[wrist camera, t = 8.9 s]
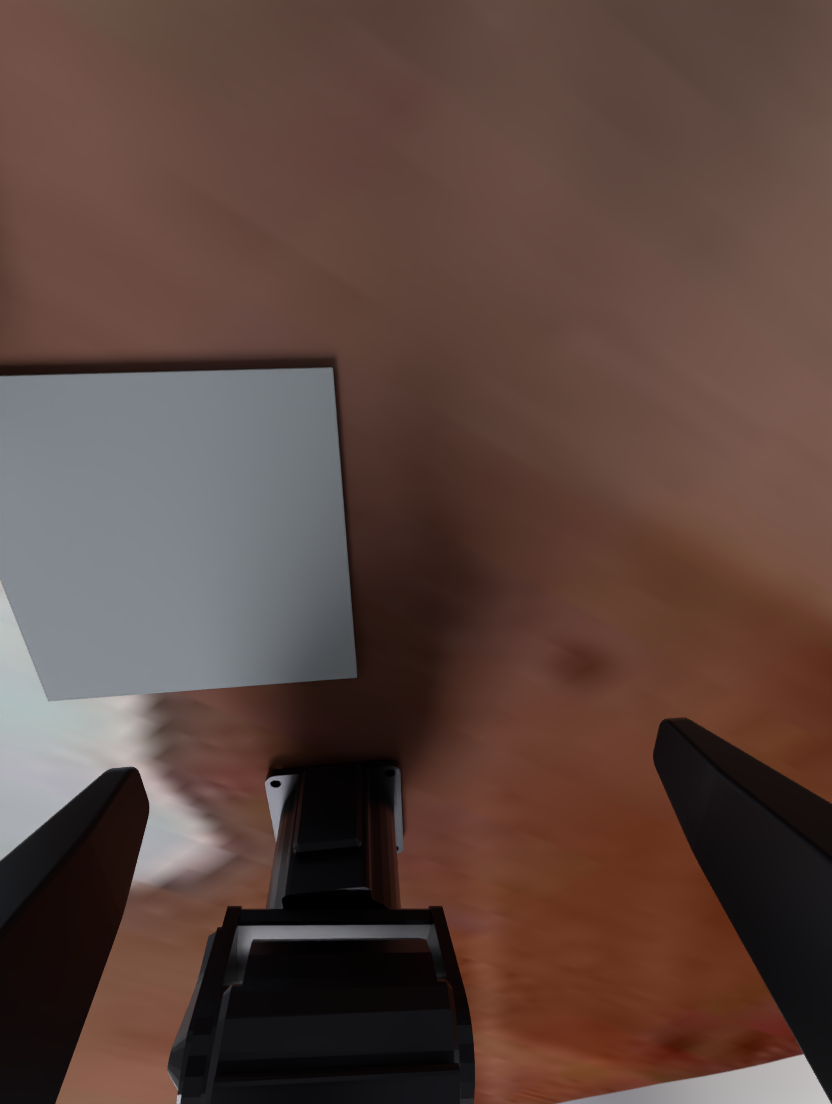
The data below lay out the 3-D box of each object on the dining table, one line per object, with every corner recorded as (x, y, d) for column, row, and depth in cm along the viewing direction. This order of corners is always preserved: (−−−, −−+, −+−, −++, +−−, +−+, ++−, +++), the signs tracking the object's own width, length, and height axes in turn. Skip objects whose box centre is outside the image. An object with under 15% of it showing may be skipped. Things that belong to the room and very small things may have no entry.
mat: (356, 671, 23) (356, 677, 23) (53, 694, 22) (48, 701, 22) (333, 366, 18) (332, 367, 17) (-70, 377, 17) (-80, 378, 16)
